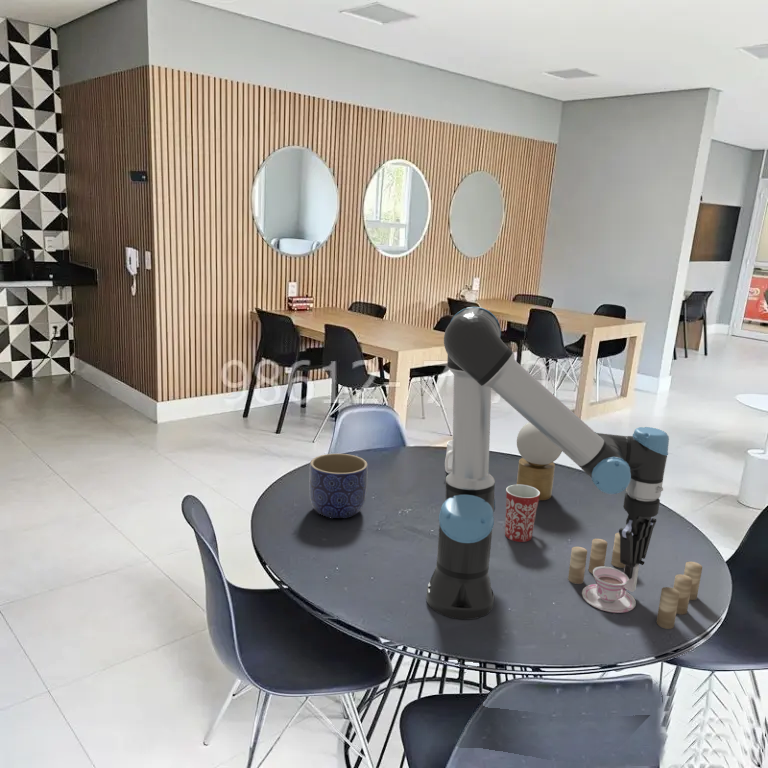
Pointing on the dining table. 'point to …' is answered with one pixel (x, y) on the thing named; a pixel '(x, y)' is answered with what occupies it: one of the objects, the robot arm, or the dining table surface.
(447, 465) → the cup
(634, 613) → the dining table surface
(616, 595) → the teacup
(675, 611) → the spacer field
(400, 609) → the dining table surface
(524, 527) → the mug
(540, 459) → the lamp
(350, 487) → the planter
